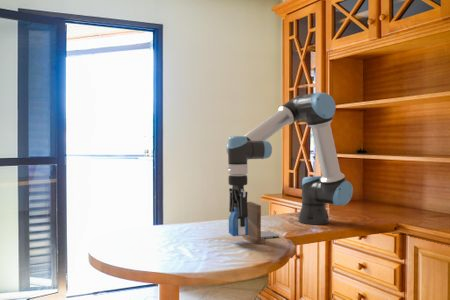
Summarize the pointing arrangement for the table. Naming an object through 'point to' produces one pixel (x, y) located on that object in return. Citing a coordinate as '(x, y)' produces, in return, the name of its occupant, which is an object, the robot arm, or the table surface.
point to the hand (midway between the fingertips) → (238, 232)
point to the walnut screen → (254, 224)
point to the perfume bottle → (236, 222)
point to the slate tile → (268, 234)
